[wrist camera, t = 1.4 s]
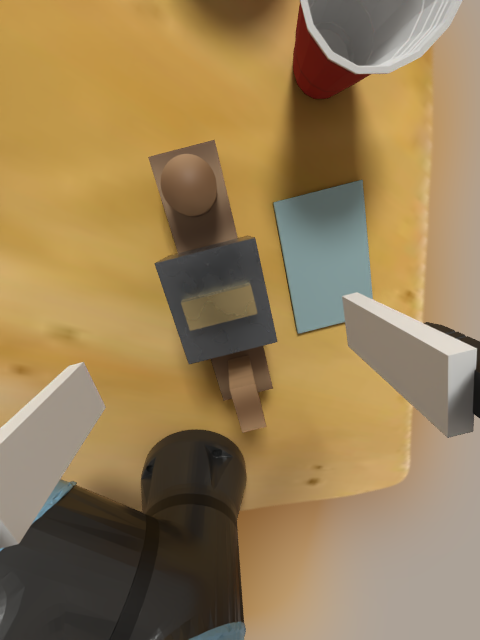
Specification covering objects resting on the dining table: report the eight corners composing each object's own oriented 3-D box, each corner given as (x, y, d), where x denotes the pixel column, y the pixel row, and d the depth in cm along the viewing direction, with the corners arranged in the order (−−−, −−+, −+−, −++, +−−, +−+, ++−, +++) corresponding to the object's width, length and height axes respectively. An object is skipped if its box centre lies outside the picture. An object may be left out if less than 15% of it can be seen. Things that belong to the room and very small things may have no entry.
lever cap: (266, 320, 30) (279, 346, 23) (194, 338, 30) (187, 369, 23) (247, 235, 27) (256, 238, 20) (168, 255, 27) (151, 265, 20)
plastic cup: (244, 85, 27) (261, -16, 16) (308, -37, 25) (384, -262, 13) (329, 154, 30) (397, 108, 18) (395, 49, 27) (522, -80, 16)
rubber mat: (371, 313, 36) (373, 314, 35) (297, 332, 36) (298, 333, 35) (360, 180, 31) (362, 179, 30) (272, 202, 31) (273, 202, 30)
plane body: (266, 368, 37) (284, 422, 27) (223, 378, 37) (224, 437, 27) (215, 154, 29) (212, 112, 18) (160, 168, 29) (126, 135, 19)
